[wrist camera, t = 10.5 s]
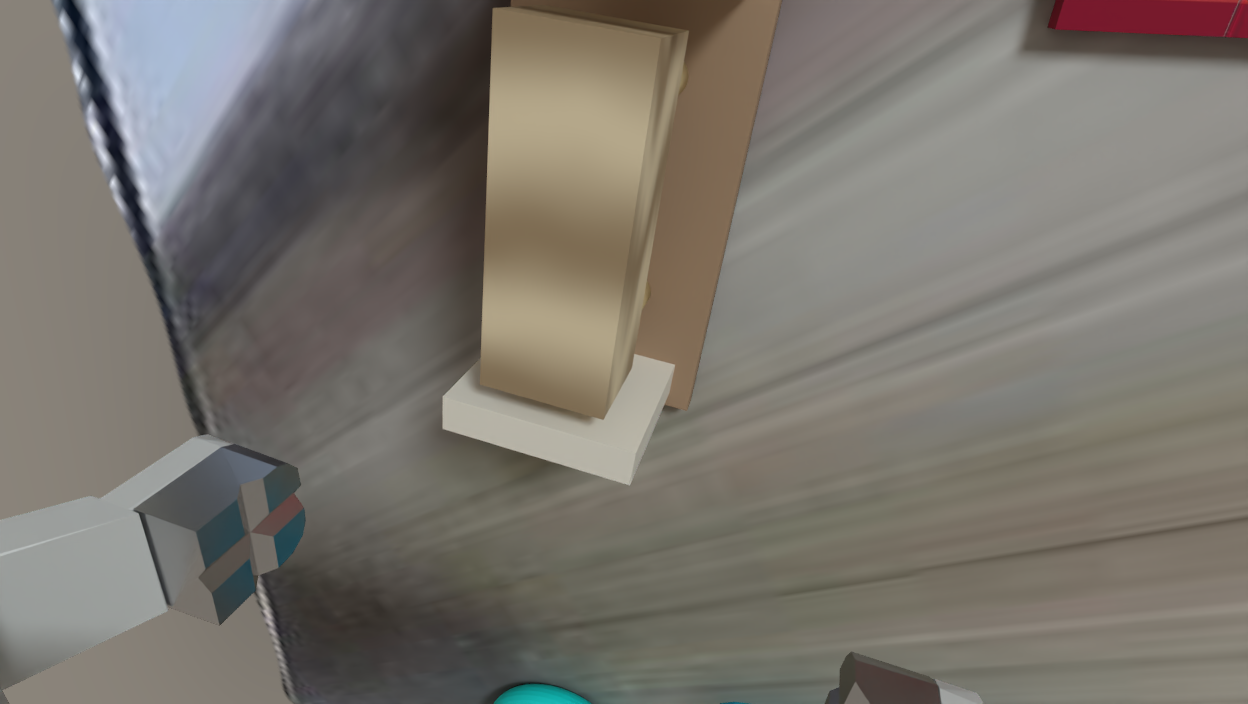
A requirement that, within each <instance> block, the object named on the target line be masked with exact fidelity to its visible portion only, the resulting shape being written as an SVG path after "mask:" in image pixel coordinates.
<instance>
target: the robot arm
mask: <svg viewBox="0 0 1248 704" xmlns="http://www.w3.org/2000/svg"><path fill="white" fill-rule="evenodd" d="M300 486H301V483H300V478H299V473H298V468H297V467H294V466H292V465H290V464H288V463H285V462H282V461H280V460H277V459H274V458H272V457H269V456H266V455H263V454H261V453H258V452H255V451H253V450H250V449H247V448H244V447H242V446H239V445H236V444H233V443H230V442H227V441H224V440H221V439H219V438H216V437H213V436H210V435H202V436H197V437H193V438H192V439H190V440H189V441H187V442H186V443H184V444H182V445H181V446H180V447H178V448H176V449H175V450H173V451H172V452H170V453H169V454H167V455H166V456H164V457H163V458H161V459H160V460H158V461H157V462H155V463H154V464H152V465H150V466H149V467H147V468H146V469H144V470H143V471H141V472H140V473H138V474H137V475H135V476H134V477H132V478H131V479H129V480H128V481H126V482H125V483H123V484H122V485H120V486H119V487H117V488H115V489H114V490H112V491H111V492H110V493H108V494H107V495H105V496H103V497H102V498H96V497H94V496H89V497H85V498H81V499H77V500H73V501H70V502H66V503H62V504H59V505H55V506H51V507H48V508H44V509H40V510H37V511H33V512H29V513H25V514H22V515H18V516H14V517H10V518H7V519H3V520H0V704H9V702H8V700H7V698H6V697H5V695H4V693H3V691H2V690H4V689H6V688H8V687H10V686H12V685H14V684H17V683H19V682H21V681H23V680H25V679H27V678H29V677H31V676H33V675H35V674H37V673H39V672H42V671H44V670H46V669H48V668H50V667H52V666H54V665H56V664H58V663H60V662H62V661H65V660H67V659H68V658H71V657H73V656H75V655H77V654H79V653H81V652H83V651H85V650H87V649H90V648H91V647H94V646H96V645H97V644H100V643H102V642H104V641H106V640H108V639H110V638H112V637H115V636H116V635H119V634H121V633H123V632H125V631H126V630H129V629H131V628H133V627H135V626H138V625H140V624H142V623H144V622H146V621H148V620H150V619H152V618H154V617H156V616H158V615H160V614H162V613H165V612H167V611H168V607H169V608H172V609H175V610H178V611H181V612H183V613H186V614H189V615H191V616H194V617H197V618H200V619H203V620H206V621H208V622H211V623H214V624H216V625H221V624H222V623H223V622H224V621H225V620H226V619H227V618H228V617H229V616H230V615H231V614H232V613H233V612H234V611H235V610H236V609H237V608H238V607H239V606H240V605H241V604H242V603H243V602H244V601H245V600H246V599H247V598H248V597H249V596H250V595H251V594H253V593H254V592H255V591H256V586H257V580H258V576H259V575H261V574H264V573H266V572H269V571H271V570H274V569H277V568H279V567H280V566H281V565H282V564H283V563H284V562H285V561H286V560H287V559H288V558H289V556H290V555H291V554H292V553H293V552H294V550H295V548H296V546H297V545H298V543H299V541H300V539H301V537H302V535H303V531H304V526H305V521H306V519H305V511H304V507H303V505H302V504H301V503H300V501H299V500H298V498H297V497H296V496H295V494H294V492H295V491H296V490H297V489H298V488H299V487H300ZM825 704H983V702H982V700H981V698H980V697H979V695H978V694H977V693H975V692H972V691H969V690H966V689H963V688H960V687H957V686H954V685H951V684H948V683H945V682H942V681H939V680H936V679H931V678H930V677H929V676H926V675H923V674H920V673H916V672H913V671H910V670H907V669H904V668H901V667H898V666H895V665H892V664H889V663H885V662H882V661H879V660H876V659H873V658H870V657H867V656H864V655H861V654H858V653H854V652H850V653H849V654H848V655H847V656H846V658H845V660H844V662H843V664H842V666H841V668H840V682H839V688H836V689H834V690H831V691H830V692H829V694H828V697H827V699H826V701H825Z"/></svg>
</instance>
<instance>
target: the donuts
mask: <svg viewBox="0 0 1248 704" xmlns="http://www.w3.org/2000/svg"><path fill="white" fill-rule="evenodd" d="M493 704H591V703H590V702H589V701H587V700H586V699H584V698H582V697H581V696H579V695H577V694H575V693H573V692H570V691H568V690H565V689H562V688H559V687H556V686H552V685H546V684H526V685H520V686H517V687H514V688H511V689H509V690H508V691H506V692H504V693H503V694H502V695H500V696H499V697H498V699H497V700H496V701H495V702H494V703H493Z"/></svg>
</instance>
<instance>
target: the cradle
mask: <svg viewBox="0 0 1248 704" xmlns="http://www.w3.org/2000/svg"><path fill="white" fill-rule="evenodd" d="M781 4H782V0H511V7H519V6H536V5H548V6H554V7H559V8H565V9H571V10H576V11H582V12H587V13H593V14H599V15H604V16H610V17H616V18H621V19H627V20H632V21H638V22H644V23H649V24H655V25H660V26H666V27H672V28H677V29H683V30H689V35H688V40H687V46H686V52H685V58H684V64H683V70H682V76H681V82H680V88H679V94H678V99H677V105H676V111H675V117H674V123H673V129H672V135H671V141H670V147H669V152H668V158H667V164H666V170H665V176H664V182H663V188H662V194H661V200H660V206H659V211H658V217H657V223H656V229H655V235H654V241H653V247H652V253H651V259H650V265H649V270H648V276H647V282H646V288H645V294H644V300H643V306H642V312H641V318H640V323H639V329H638V335H637V341H636V347H635V353H634V359H633V365H632V369H631V371H630V373H629V374H628V376H627V378H626V380H625V382H624V384H623V385H622V387H621V389H620V391H619V393H618V394H617V396H616V398H615V400H614V402H613V403H612V405H611V407H610V409H609V411H608V412H607V414H606V416H605V418H604V420H602V419H598V418H595V417H591V416H588V415H584V414H581V413H577V412H574V411H570V410H567V409H564V408H560V407H557V406H553V405H550V404H546V403H543V402H539V401H536V400H532V399H529V398H525V397H522V396H518V395H515V394H511V393H508V392H504V391H501V390H497V389H494V388H490V387H487V386H483V385H480V366H481V358H480V359H479V360H478V361H477V362H476V363H475V364H474V365H473V366H472V367H471V368H470V369H469V370H468V371H467V372H466V373H465V374H464V375H463V376H462V377H461V378H460V379H459V380H458V381H457V383H456V384H455V385H454V386H453V387H452V388H451V389H450V390H449V391H448V392H447V393H446V394H445V395H444V396H443V429H445V430H448V431H452V432H455V433H458V434H461V435H465V436H468V437H471V438H475V439H478V440H481V441H485V442H488V443H491V444H495V445H498V446H501V447H505V448H508V449H511V450H515V451H518V452H521V453H524V454H528V455H531V456H534V457H538V458H541V459H544V460H548V461H551V462H554V463H558V464H561V465H564V466H568V467H571V468H574V469H577V470H581V471H584V472H587V473H591V474H594V475H597V476H601V477H604V478H607V479H611V480H614V481H617V482H621V483H624V484H627V485H630V484H631V482H632V479H633V477H634V475H635V472H636V470H637V468H638V465H639V463H640V461H641V458H642V456H643V454H644V451H645V449H646V446H647V444H648V442H649V439H650V437H651V435H652V432H653V430H654V428H655V425H656V423H657V421H658V418H659V416H660V414H661V411H662V409H663V407H664V405H668V406H671V407H675V408H679V409H682V410H686V411H687V409H688V406H689V404H690V401H691V397H692V393H693V389H694V384H695V380H696V375H697V371H698V367H699V362H700V358H701V354H702V349H703V345H704V340H705V336H706V332H707V327H708V323H709V319H710V314H711V310H712V305H713V301H714V297H715V292H716V288H717V284H718V279H719V275H720V270H721V266H722V262H723V257H724V253H725V249H726V244H727V240H728V235H729V231H730V227H731V222H732V218H733V214H734V209H735V205H736V200H737V196H738V192H739V187H740V183H741V179H742V174H743V170H744V165H745V161H746V157H747V152H748V148H749V144H750V139H751V135H752V130H753V126H754V122H755V117H756V113H757V109H758V104H759V100H760V95H761V91H762V87H763V82H764V78H765V74H766V69H767V65H768V60H769V56H770V52H771V47H772V43H773V39H774V34H775V30H776V25H777V21H778V17H779V12H780V8H781Z"/></svg>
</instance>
